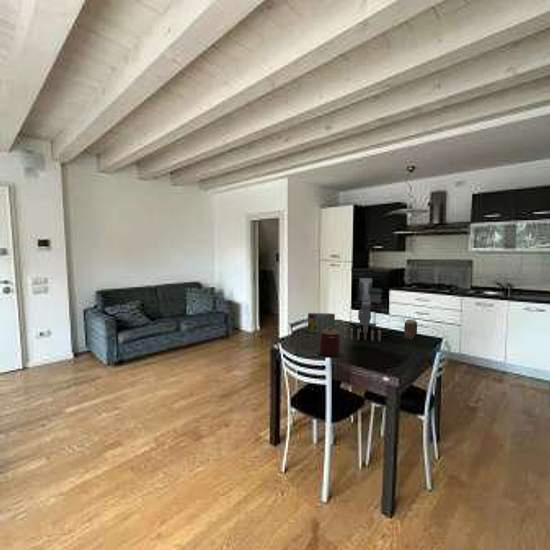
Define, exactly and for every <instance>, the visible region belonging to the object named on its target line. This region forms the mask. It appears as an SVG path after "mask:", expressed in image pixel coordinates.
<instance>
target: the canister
mask: <svg viewBox="0 0 550 550" xmlns="http://www.w3.org/2000/svg"><path fill="white" fill-rule="evenodd" d="M321 332H322V333H320V334H319V336H320V339H319V353H320V354H321V355H323V356H326V357H337V356H339V355H340V353H341V348H340V347H341V345H340V344H341V339H340V338H341V335H340V331H339V330H338V329H336V328H335V329H332V327H329V328H328V329H324V330H322V331H321Z"/></svg>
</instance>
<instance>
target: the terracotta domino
mask: <svg viewBox="0 0 550 550" xmlns="http://www.w3.org/2000/svg"><path fill="white" fill-rule="evenodd" d="M367 337H368V336H367V329H364V332H363V340H364V341H367Z"/></svg>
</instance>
